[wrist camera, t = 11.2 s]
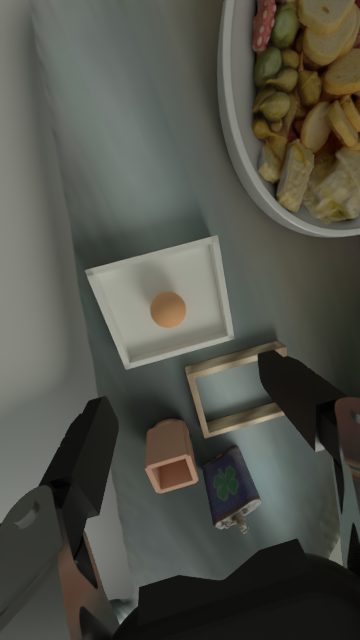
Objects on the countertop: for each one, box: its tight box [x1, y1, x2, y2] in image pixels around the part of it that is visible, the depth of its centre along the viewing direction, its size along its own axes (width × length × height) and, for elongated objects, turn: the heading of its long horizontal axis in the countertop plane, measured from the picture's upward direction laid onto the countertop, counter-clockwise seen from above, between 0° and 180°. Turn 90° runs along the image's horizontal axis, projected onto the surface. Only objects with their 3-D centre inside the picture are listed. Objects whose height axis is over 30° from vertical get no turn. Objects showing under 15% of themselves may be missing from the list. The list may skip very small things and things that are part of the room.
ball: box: [150, 292, 186, 328], centre depth 23 cm, size 4×4×4 cm
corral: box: [185, 340, 287, 438], centre depth 32 cm, size 16×14×2 cm
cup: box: [145, 418, 198, 494], centre depth 31 cm, size 7×7×7 cm
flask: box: [202, 446, 261, 534], centre depth 33 cm, size 9×3×11 cm, turn 129°
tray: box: [85, 235, 234, 370], centre depth 25 cm, size 16×14×3 cm
